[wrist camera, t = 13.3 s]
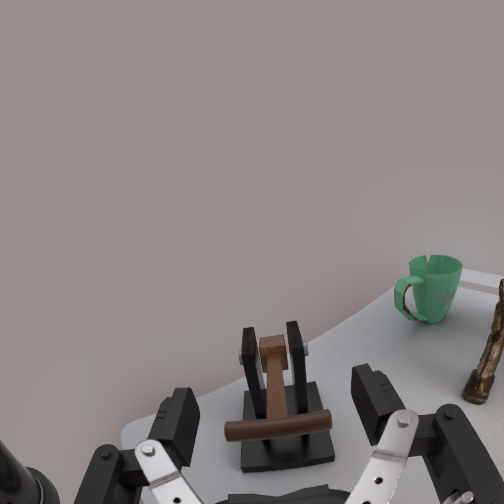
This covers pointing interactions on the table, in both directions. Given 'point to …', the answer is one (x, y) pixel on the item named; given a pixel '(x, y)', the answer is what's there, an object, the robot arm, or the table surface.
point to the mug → (429, 287)
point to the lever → (276, 403)
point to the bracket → (297, 401)
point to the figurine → (488, 358)
